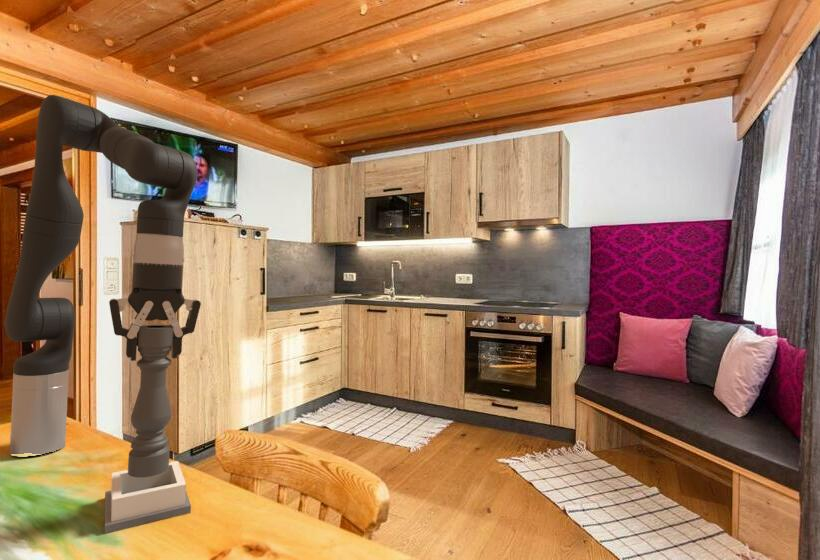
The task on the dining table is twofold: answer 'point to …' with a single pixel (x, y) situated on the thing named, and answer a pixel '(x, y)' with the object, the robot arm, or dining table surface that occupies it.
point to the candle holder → (151, 403)
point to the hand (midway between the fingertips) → (153, 358)
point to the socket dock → (145, 498)
